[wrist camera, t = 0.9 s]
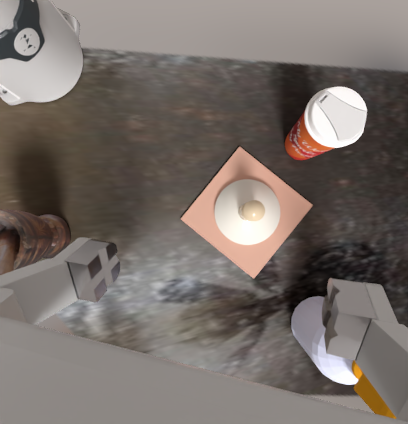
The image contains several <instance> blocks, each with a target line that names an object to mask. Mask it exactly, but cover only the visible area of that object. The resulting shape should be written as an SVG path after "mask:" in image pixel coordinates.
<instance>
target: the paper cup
mask: <svg viewBox="0 0 408 424" xmlns="http://www.w3.org/2000/svg"><path fill="white" fill-rule="evenodd" d="M366 115H367V109H366V105H365V103H364V101H363V99H362V98H361V96H360V95H359V94H358V93H356V92H355V91H353V90H352V89H349V88H346V87H333V88H327V89H324V90H321V91H320V92H318V93H316V94H315V95H314V96H313V97H312V98H311V100H310V101H309V103H308V104H307V107H306V110H305V111H304V112H303V114H302V115H301V117H300V118H299V120H298V121H297V122H296V124H295V125H294V127H293V128H292V129H291V131H290V132H289V134H288V135H287V137H286V140H285V149H286V151H287V153H288V154H289V155H290V156H291V157H292V158H294V159H296V160H306V159H309V158H312V157H314V156H317V155H319V154H321V153H324V152H326V151H328V150H331V149H333V148H338V147H343V146H346V145H349V144H351V143H354V142H355V141H356V140H358V138H359V137H360V136H361V135H362V133H363V130H364V126H365V122H366Z"/></svg>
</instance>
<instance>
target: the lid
mask: <svg viewBox="0 0 408 424" xmlns="http://www.w3.org/2000/svg"><path fill="white" fill-rule="evenodd" d="M214 215H215V221H216V224H217V226H218V228H219V230H220V231H221V232H222V234H223V235H224V236H225V237H227V238H228V239H229V240H231V241H233V242H235V243H238V244H242V245H253V244H257V243H260V242H262V241H264V240H266V239H267V238H268V237H270V236H271V235H272V233H273V232H274V231H275V229H276V228H277V226H278V223H279V219H280V205H279V201H278V199H277V197H276V195H275V194H274V192H273V191H272V190H271V189H270V188H269V187H268V186H267V185H265V184H263V183H262V182H259V181H256V180H251V179H243V180H238V181H235V182H233V183H231V184H230V185H228V186H227V187H226V188H224V189H223V191H222V192H221V193H220V195H219V196H218V198H217V201H216V204H215V210H214Z"/></svg>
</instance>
